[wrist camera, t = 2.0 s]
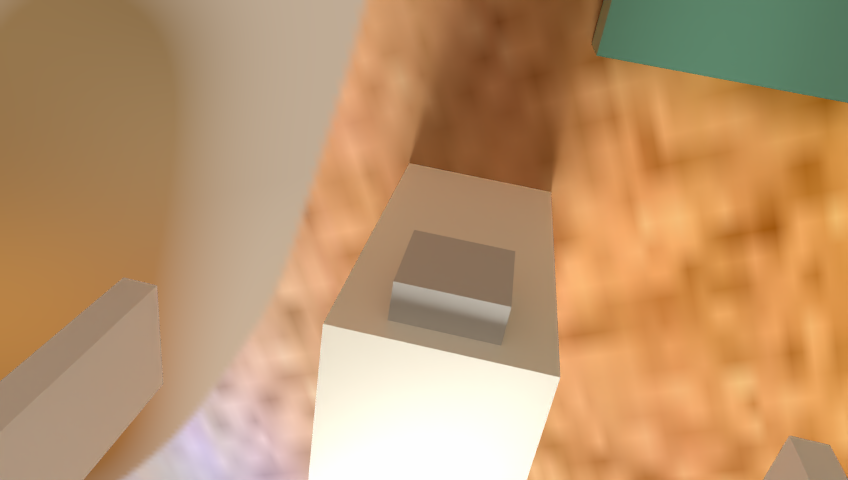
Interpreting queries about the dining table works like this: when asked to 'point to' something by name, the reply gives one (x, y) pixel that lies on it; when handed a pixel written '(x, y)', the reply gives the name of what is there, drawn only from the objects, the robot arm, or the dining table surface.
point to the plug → (442, 337)
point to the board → (734, 40)
